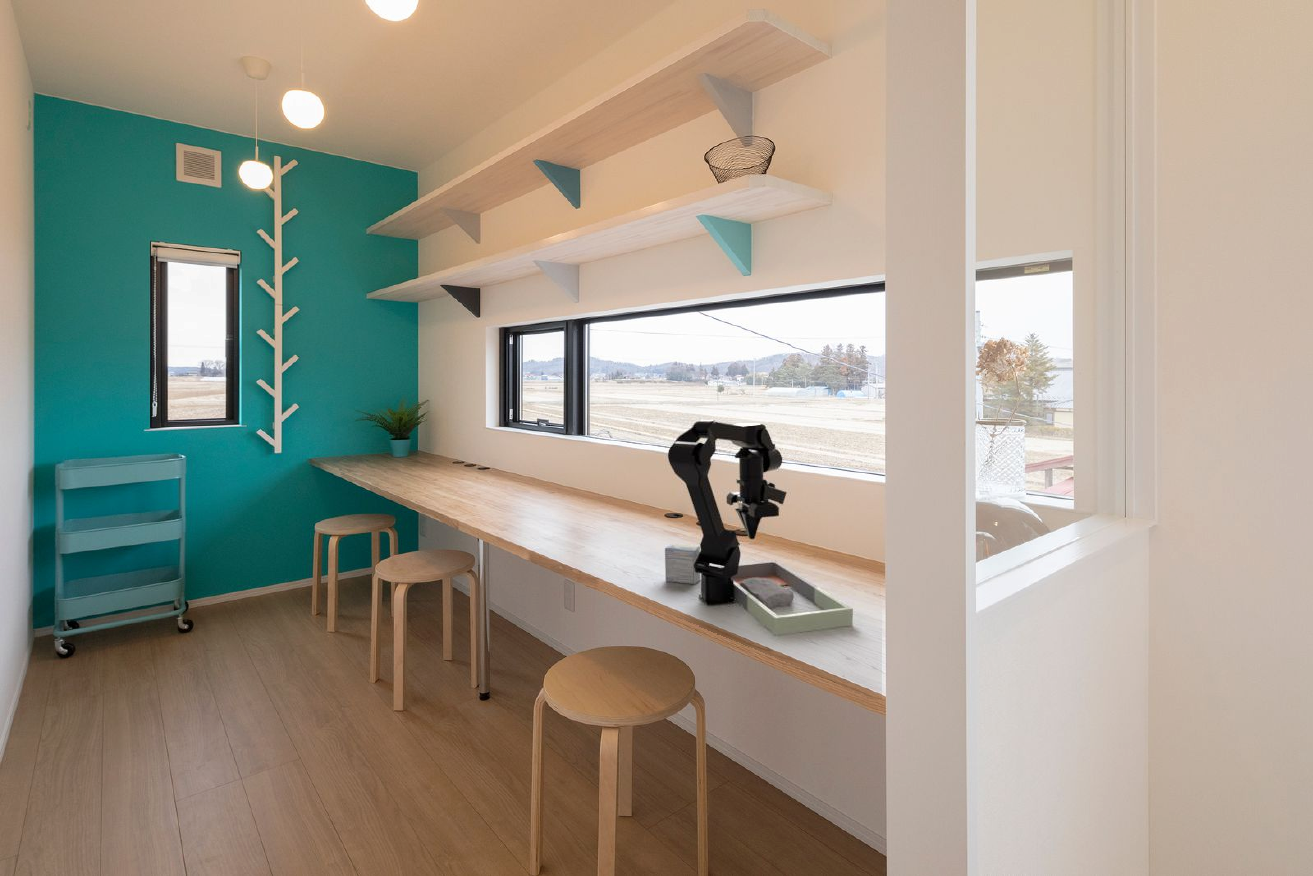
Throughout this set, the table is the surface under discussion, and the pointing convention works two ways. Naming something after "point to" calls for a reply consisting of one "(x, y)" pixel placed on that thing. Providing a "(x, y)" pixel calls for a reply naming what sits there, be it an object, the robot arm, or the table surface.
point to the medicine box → (681, 563)
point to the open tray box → (800, 622)
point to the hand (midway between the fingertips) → (751, 538)
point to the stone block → (768, 592)
